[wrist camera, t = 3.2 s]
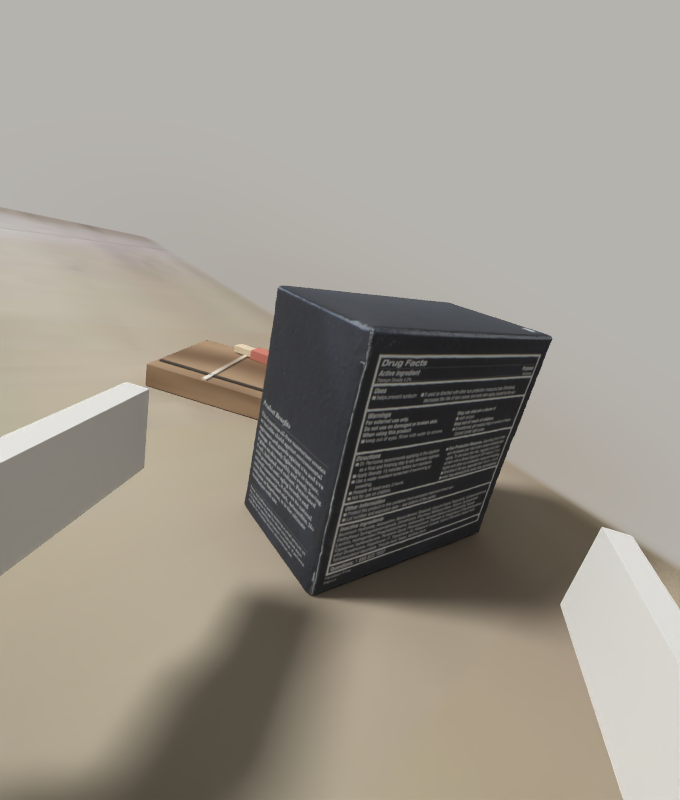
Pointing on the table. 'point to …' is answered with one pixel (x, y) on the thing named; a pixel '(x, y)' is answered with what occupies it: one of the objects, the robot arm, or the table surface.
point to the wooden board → (211, 377)
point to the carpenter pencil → (252, 353)
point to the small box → (382, 427)
